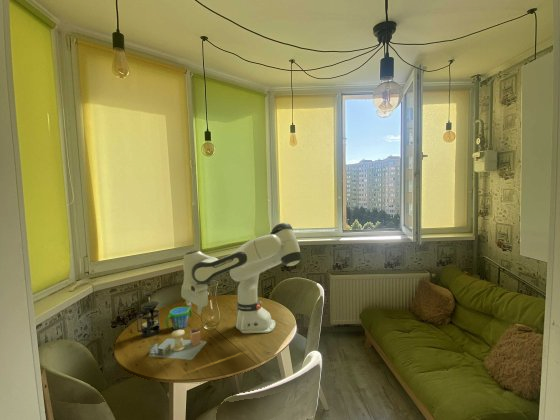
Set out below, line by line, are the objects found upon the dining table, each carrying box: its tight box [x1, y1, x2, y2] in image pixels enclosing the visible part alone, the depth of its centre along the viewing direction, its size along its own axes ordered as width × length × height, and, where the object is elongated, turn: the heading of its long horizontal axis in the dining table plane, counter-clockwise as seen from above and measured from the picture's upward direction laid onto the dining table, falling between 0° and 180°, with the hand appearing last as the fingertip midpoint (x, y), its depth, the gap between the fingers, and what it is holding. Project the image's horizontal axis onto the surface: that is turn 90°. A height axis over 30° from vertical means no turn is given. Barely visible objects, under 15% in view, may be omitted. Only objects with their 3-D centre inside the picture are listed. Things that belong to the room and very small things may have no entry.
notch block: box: [148, 342, 171, 356], centre depth 134 cm, size 8×5×3 cm, turn 80°
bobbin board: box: [147, 329, 208, 361], centre depth 137 cm, size 22×16×9 cm
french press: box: [136, 292, 161, 338], centre depth 153 cm, size 12×9×23 cm
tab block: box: [189, 327, 202, 346], centre depth 141 cm, size 4×4×7 cm
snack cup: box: [165, 306, 194, 331], centre depth 161 cm, size 16×10×10 cm
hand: (194, 310), depth 140 cm, fingers open, 8 cm apart
